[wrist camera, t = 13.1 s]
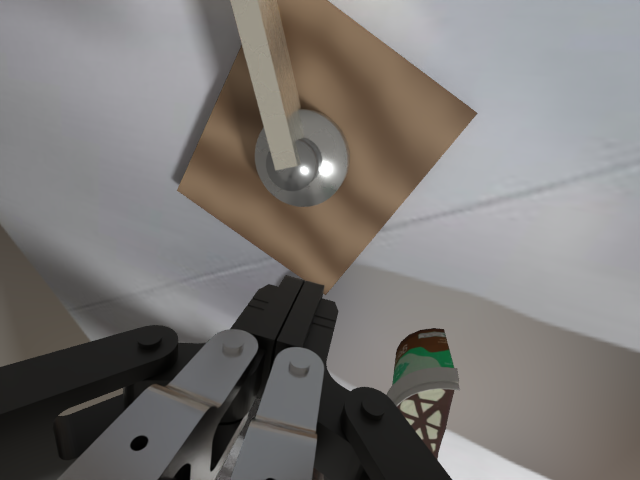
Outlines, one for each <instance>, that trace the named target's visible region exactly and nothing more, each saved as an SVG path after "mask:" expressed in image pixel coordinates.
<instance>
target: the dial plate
mask: <svg viewBox="0 0 640 480" xmlns="http://www.w3.org/2000/svg"><path fill="white" fill-rule="evenodd" d="M277 4H278V9H279V13H280V17H281V22H282V26H283V31H284V35H285V39H286V44H287V48H288V53H289V57H290V62H291V66H292V70H293V75H294V79H295V84H296V88H297V92H298V97H299V101H300V106H301V109H308V110H314V111H318V112H320V113H323V114H325V115H326V116H328V117H329V118H331V119H332V120H333V121H334V122H335V123H336V124H337V125H338V126H339V127H340V129H341V130H342V132H343V133H344V135H345V137H346V140H347V142H348V146H349V152H350V164H349V169H348V173H347V175H346V178H345V180H344V181H343V183H342V184H341V186H340V187H339V189H338V190H337V191H336V192H335V193H334V194H333V195H332V196H331V197H330V198H329V199H327V200H326V201H324V202H322V203H320V204H318V205H314V206H309V207H298V206H292V205H289V204H286V203H284V202H282V201H280V200H279V199H277V198H276V197H275V196H273V195H272V194H271V193H270V192H269V191H268V190H267V188H266V187H265V186H264V184H263V183H262V181H261V179H260V177H259V175H258V172H257V169H256V164H255V147H256V143H257V139H258V137H259V134H260V132H261V131H262V129H263V128H264V126H263V122H262V118H261V114H260V111H259V107H258V103H257V99H256V96H255V92H254V88H253V84H252V81H251V77H250V73H249V69H248V65H247V62H246V58H245V54H244V50H243V47H242V46H241V48H240V50H239V52H238V55H237V57H236V59H235V61H234V63H233V66H232V68H231V70H230V72H229V75H228V77H227V79H226V81H225V84H224V86H223V88H222V90H221V93H220V95H219V97H218V99H217V102H216V104H215V106H214V108H213V111H212V113H211V115H210V117H209V120H208V122H207V124H206V126H205V129H204V131H203V133H202V135H201V138H200V140H199V142H198V144H197V147H196V149H195V151H194V153H193V156H192V158H191V160H190V162H189V165H188V167H187V169H186V171H185V174H184V176H183V178H182V180H181V183H180V185H179V187H178V189H177V191H179V192H180V193H181V194H183V195H184V196H186V197H187V198H188V199H190V200H191V201H193V202H194V203H196V204H197V205H198V206H200V207H201V208H203V209H204V210H206V211H207V212H208V213H210V214H211V215H213V216H214V217H215V218H217V219H218V220H220V221H221V222H223V223H224V224H225V225H227V226H228V227H230V228H231V229H232V230H234V231H235V232H237V233H238V234H240V235H241V236H242V237H244V238H245V239H247V240H248V241H250V242H251V243H252V244H254V245H255V246H257V247H258V248H259V249H261V250H262V251H264V252H265V253H267V254H268V255H269V256H271V257H272V258H274V259H275V260H277V261H278V262H279V263H281V264H282V265H284V266H285V267H286V268H288V269H289V270H291V271H292V272H294V273H295V274H297V275H298V276H300V277H301V278H302V279H304V280H305V281H310V282H314V283H318V284H322V285H325V286H324V291H323V294H325V295H326V294H327V293H328V292H329V290H330V289H331V288H332V287H333V286H334V284H335V283H336V282H337V281H338V280H339V278H340V277H341V276H342V275H343V273H344V272H345V271H346V270H347V269H348V268H349V266H350V265H351V264H352V263H353V262H354V260H355V259H356V258H357V257H358V256H359V254H360V253H361V252H362V251H363V250H364V249H365V247H366V246H367V245H368V244H369V243H370V241H371V240H372V239H373V238H374V237H375V235H376V234H377V233H378V232H379V231H380V229H381V228H382V227H383V226H384V225H385V223H386V222H387V221H388V220H389V219H390V217H391V216H392V215H393V214H394V213H395V211H396V210H397V209H398V208H399V207H400V205H401V204H402V203H403V202H404V201H405V199H406V198H407V197H408V196H409V195H410V193H411V192H412V191H413V190H414V189H415V187H416V186H417V185H418V184H419V183H420V182H421V180H422V179H423V178H424V177H425V176H426V174H427V173H428V172H429V171H430V170H431V168H432V167H433V166H434V165H435V164H436V162H437V161H438V160H439V159H440V158H441V156H442V155H443V154H444V153H445V152H446V150H447V149H448V148H449V147H450V146H451V144H452V143H453V142H454V141H455V140H456V138H457V137H458V136H459V135H460V134H461V132H462V131H463V130H464V129H465V128H466V126H467V125H468V124H469V123H470V122H471V120H472V119H473V118H474V117H475V116H476V114H477V112H475V111H474V110H473V109H471V108H470V107H469V106H467V105H466V104H465V103H463V102H462V101H461V100H459V99H458V98H457V97H455V96H454V95H453V94H451V93H450V92H449V91H447V90H446V89H445V88H443V87H442V86H441V85H439V84H438V83H437V82H435V81H434V80H433V79H431V78H430V77H429V76H427V75H426V74H425V73H423V72H422V71H421V70H419V69H418V68H417V67H415V66H414V65H413V64H411V63H410V62H409V61H407V60H406V59H405V58H403V57H402V56H401V55H399V54H398V53H397V52H395V51H394V50H393V49H391V48H390V47H389V46H387V45H386V44H385V43H383V42H382V41H381V40H379V39H378V38H377V37H375V36H374V35H373V34H371V33H370V32H369V31H367V30H366V29H365V28H363V27H362V26H361V25H359V24H358V23H357V22H355V21H354V20H353V19H351V18H350V17H349V16H347V15H346V14H345V13H343V12H342V11H341V10H339V9H338V8H337V7H335V6H334V5H333V4H331V3H330V2H329V1H327V0H277Z"/></svg>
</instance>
